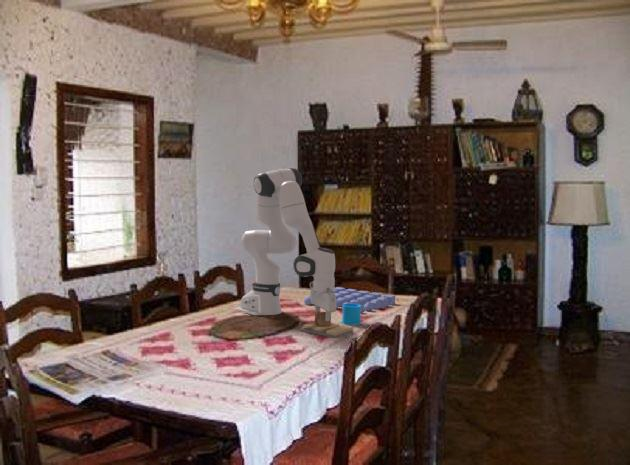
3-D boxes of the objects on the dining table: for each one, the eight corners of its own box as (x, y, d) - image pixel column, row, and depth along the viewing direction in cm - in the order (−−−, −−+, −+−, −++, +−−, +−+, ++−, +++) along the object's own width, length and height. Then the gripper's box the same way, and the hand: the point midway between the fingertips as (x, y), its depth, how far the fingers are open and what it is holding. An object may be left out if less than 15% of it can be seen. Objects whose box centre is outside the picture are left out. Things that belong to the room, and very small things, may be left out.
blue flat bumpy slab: (395, 304, 359) (395, 295, 359) (362, 316, 330) (363, 305, 330) (337, 295, 378) (337, 286, 378) (302, 305, 349) (302, 295, 349)
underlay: (299, 331, 293) (299, 325, 293) (317, 325, 305) (317, 320, 305) (336, 338, 284) (336, 332, 284) (352, 331, 296) (353, 326, 296)
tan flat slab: (302, 327, 294) (303, 324, 294) (317, 322, 304) (318, 320, 304) (325, 332, 288) (325, 329, 288) (339, 327, 298) (339, 324, 298)
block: (314, 323, 296) (315, 312, 296) (324, 323, 299) (325, 311, 298) (320, 326, 292) (320, 315, 292) (330, 325, 295) (331, 314, 294)
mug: (356, 326, 307) (357, 307, 306) (339, 323, 310) (340, 305, 309) (365, 320, 318) (366, 303, 317) (349, 318, 321) (349, 301, 320)
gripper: (340, 290, 285) (339, 323, 287) (321, 281, 304) (320, 312, 306) (326, 291, 283) (325, 324, 284) (308, 282, 302) (307, 313, 303)
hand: (322, 318), depth 295 cm, fingers open, 8 cm apart
